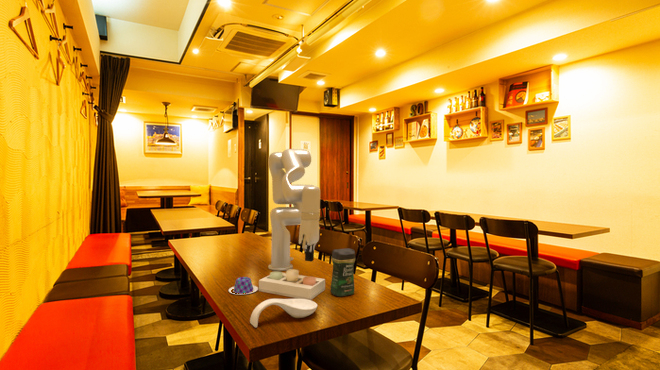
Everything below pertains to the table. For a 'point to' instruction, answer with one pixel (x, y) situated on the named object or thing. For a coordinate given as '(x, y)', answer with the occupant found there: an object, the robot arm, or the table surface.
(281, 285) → the white compartment tray
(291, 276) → the cream button
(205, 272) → the table surface
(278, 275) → the sage button
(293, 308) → the spoon rest
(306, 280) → the pink round cup
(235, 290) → the pudding
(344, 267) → the coffee jar
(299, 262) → the table surface
